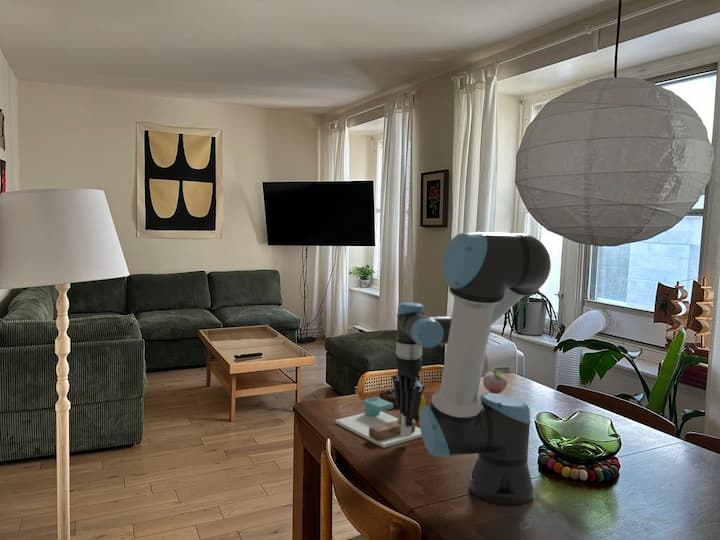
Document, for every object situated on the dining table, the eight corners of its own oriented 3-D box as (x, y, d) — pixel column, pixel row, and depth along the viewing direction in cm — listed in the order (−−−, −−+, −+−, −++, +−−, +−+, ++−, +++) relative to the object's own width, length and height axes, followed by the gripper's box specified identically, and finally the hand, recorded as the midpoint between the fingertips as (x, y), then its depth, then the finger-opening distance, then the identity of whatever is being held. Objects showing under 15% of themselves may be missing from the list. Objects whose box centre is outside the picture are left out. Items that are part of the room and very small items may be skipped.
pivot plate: (427, 435, 176) (428, 416, 175) (384, 447, 165) (384, 427, 165) (377, 412, 195) (378, 395, 194) (335, 422, 184) (335, 404, 183)
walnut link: (406, 424, 181) (406, 416, 181) (418, 429, 176) (419, 421, 176) (367, 434, 171) (367, 426, 171) (379, 441, 167) (379, 432, 167)
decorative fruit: (478, 391, 222) (479, 366, 221) (497, 390, 224) (499, 365, 223) (489, 399, 213) (490, 372, 212) (509, 398, 215) (511, 372, 214)
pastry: (374, 401, 208) (375, 385, 207) (403, 397, 213) (403, 381, 213) (390, 410, 198) (391, 394, 197) (419, 406, 204) (420, 389, 203)
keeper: (392, 421, 186) (393, 403, 186) (378, 425, 183) (379, 407, 182) (376, 414, 193) (376, 396, 192) (362, 417, 189) (362, 399, 189)
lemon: (424, 412, 196) (425, 389, 195) (424, 418, 191) (425, 394, 190) (408, 411, 197) (409, 388, 196) (408, 417, 191) (409, 393, 190)
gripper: (433, 360, 162) (430, 441, 165) (406, 350, 173) (403, 426, 176) (412, 363, 158) (408, 446, 161) (385, 352, 169) (382, 430, 172)
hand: (405, 435), depth 168 cm, fingers closed
